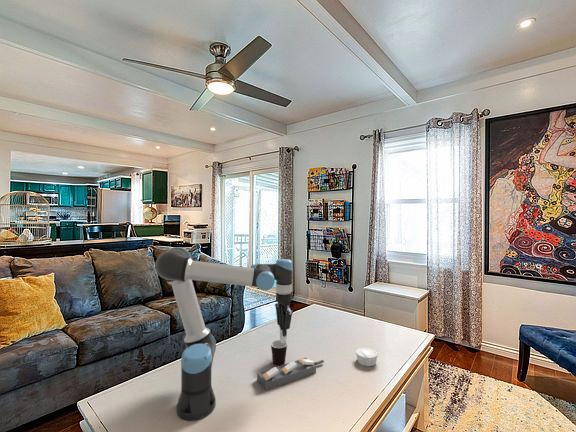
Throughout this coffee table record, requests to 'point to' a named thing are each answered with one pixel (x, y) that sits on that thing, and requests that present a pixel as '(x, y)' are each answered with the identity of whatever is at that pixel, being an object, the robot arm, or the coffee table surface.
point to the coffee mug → (278, 352)
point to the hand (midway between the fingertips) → (283, 341)
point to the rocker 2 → (289, 367)
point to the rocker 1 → (270, 373)
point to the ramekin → (366, 356)
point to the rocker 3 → (306, 361)
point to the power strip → (287, 375)
